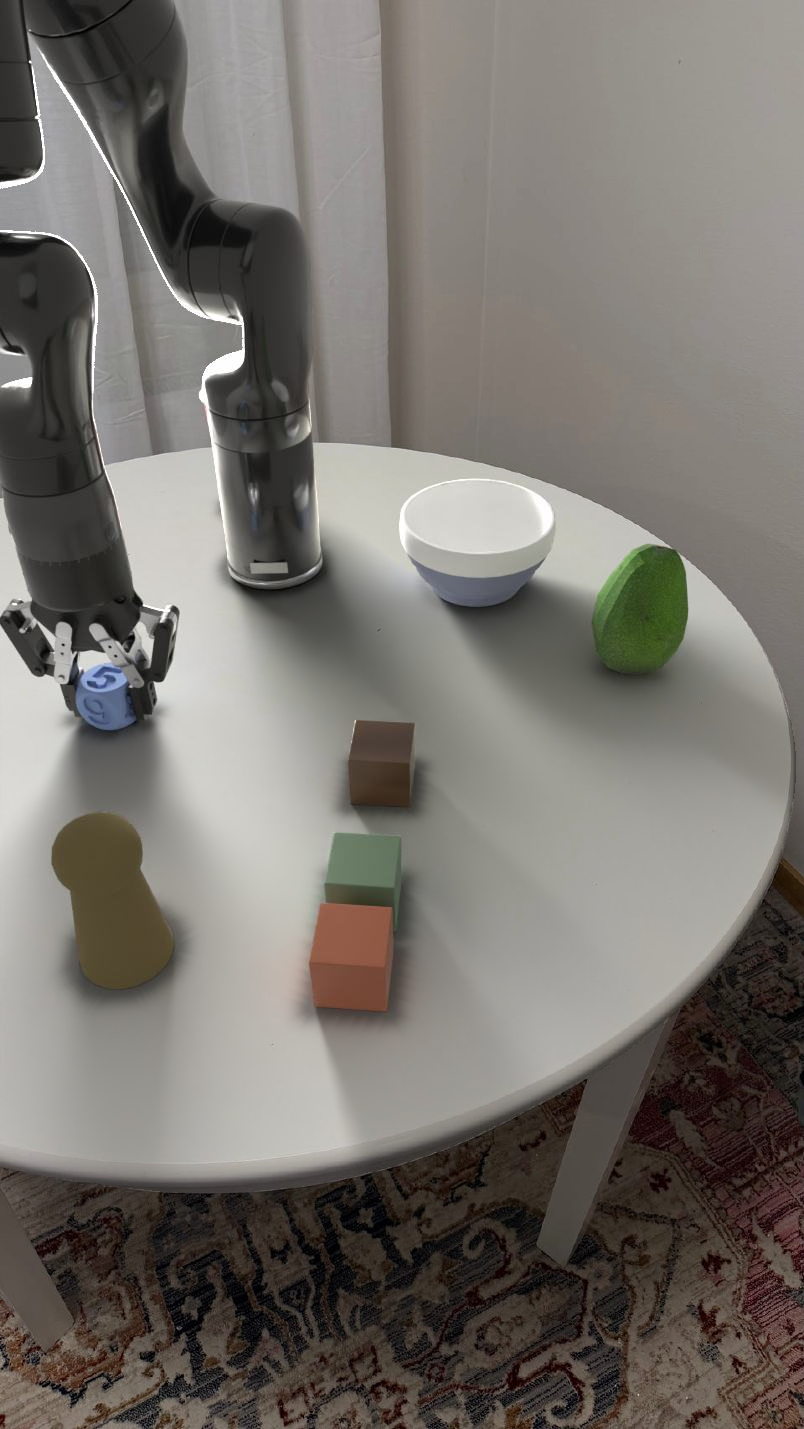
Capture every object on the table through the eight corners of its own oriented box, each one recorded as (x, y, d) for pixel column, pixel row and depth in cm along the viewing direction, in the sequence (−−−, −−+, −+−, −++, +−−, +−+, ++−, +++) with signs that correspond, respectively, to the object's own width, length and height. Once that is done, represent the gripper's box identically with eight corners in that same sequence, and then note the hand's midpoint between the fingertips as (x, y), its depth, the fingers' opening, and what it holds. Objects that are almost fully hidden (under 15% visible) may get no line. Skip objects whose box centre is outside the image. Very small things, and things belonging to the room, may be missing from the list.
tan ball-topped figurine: (87, 916, 67) (47, 799, 60) (178, 909, 68) (149, 792, 61) (72, 993, 63) (27, 877, 56) (169, 985, 63) (138, 869, 56)
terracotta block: (324, 946, 65) (320, 902, 62) (393, 951, 65) (392, 906, 62) (313, 1006, 62) (308, 962, 59) (386, 1012, 61) (385, 967, 58)
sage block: (337, 876, 70) (333, 831, 67) (402, 879, 69) (401, 835, 66) (328, 928, 66) (323, 883, 63) (395, 932, 66) (394, 887, 63)
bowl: (539, 543, 103) (545, 475, 99) (560, 624, 92) (568, 553, 87) (398, 547, 103) (397, 479, 98) (402, 629, 92) (401, 557, 87)
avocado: (692, 686, 85) (719, 565, 77) (604, 699, 84) (623, 577, 76) (655, 633, 91) (676, 515, 83) (572, 644, 90) (587, 526, 82)
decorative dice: (148, 704, 84) (139, 666, 82) (125, 734, 81) (116, 696, 79) (105, 696, 85) (95, 658, 83) (81, 726, 82) (70, 688, 80)
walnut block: (357, 763, 78) (355, 719, 76) (415, 766, 78) (414, 722, 75) (350, 804, 75) (347, 760, 72) (410, 807, 75) (409, 763, 72)
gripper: (178, 508, 74) (210, 689, 85) (-8, 502, 75) (46, 681, 86) (150, 562, 69) (187, 748, 80) (-51, 554, 70) (13, 738, 81)
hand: (114, 712), depth 83 cm, fingers closed on decorative dice, 4 cm apart
